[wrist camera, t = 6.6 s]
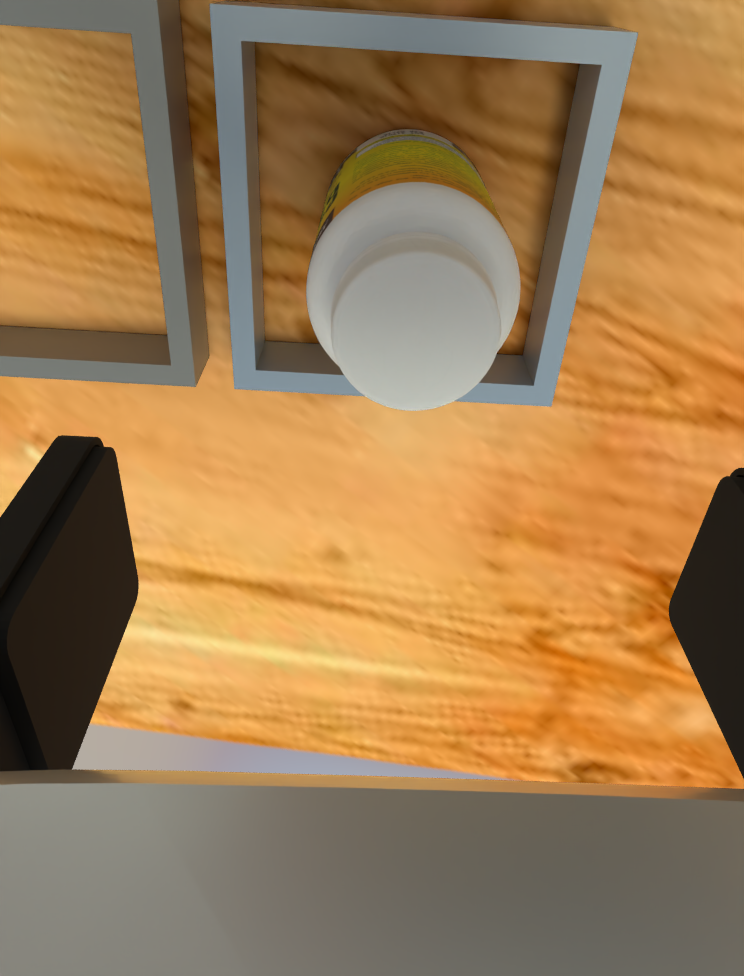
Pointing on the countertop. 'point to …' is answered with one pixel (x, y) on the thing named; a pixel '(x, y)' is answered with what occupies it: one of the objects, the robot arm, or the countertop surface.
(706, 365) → the countertop surface
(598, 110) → the blue-grey square frame
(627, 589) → the countertop surface
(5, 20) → the grey open square frame
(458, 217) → the supplement bottle
